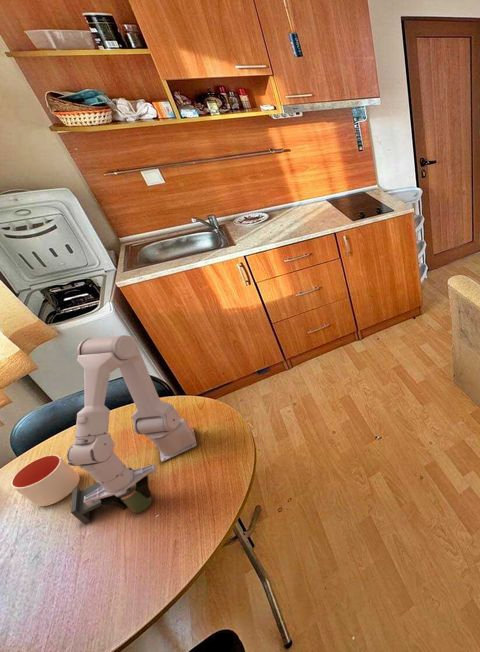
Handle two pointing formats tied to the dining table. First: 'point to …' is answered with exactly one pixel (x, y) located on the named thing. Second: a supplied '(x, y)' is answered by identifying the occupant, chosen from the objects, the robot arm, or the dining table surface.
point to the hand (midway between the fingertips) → (137, 500)
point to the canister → (135, 499)
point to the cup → (45, 480)
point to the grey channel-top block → (79, 506)
